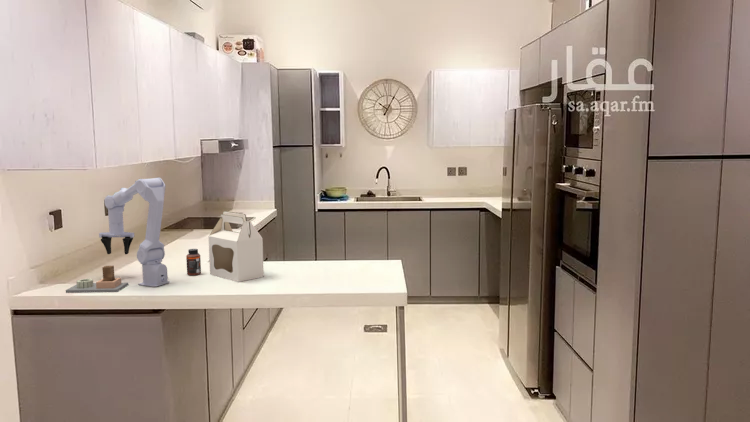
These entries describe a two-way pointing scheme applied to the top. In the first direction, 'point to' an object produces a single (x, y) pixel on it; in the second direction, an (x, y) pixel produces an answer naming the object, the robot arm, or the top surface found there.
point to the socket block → (97, 286)
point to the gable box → (235, 249)
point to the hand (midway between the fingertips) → (117, 253)
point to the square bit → (108, 273)
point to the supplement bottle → (193, 262)
